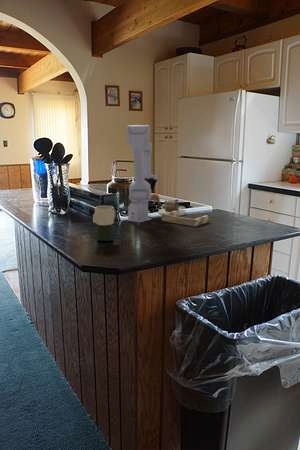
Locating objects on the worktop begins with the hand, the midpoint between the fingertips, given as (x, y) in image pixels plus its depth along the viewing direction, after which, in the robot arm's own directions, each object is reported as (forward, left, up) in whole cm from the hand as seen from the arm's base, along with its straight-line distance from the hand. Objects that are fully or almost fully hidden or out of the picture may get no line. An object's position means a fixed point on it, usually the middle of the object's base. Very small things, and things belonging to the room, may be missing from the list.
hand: (145, 192), depth 195 cm
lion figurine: (+14, +8, -11) cm, 20 cm away
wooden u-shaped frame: (-5, -28, -10) cm, 30 cm away
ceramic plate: (+6, -13, -10) cm, 18 cm away
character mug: (-52, -22, -11) cm, 57 cm away
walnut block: (+6, -13, -9) cm, 17 cm away
